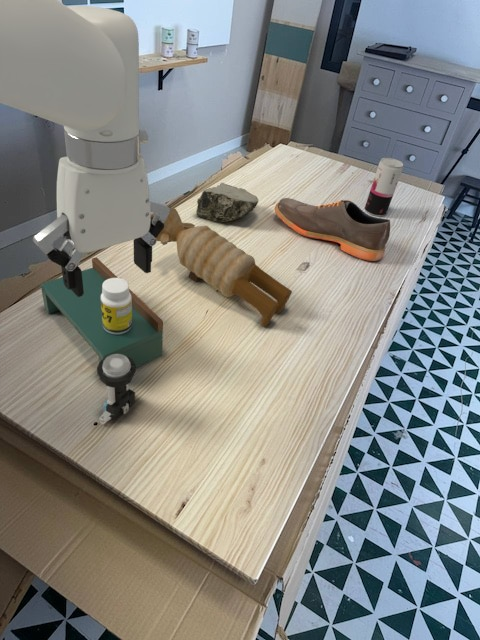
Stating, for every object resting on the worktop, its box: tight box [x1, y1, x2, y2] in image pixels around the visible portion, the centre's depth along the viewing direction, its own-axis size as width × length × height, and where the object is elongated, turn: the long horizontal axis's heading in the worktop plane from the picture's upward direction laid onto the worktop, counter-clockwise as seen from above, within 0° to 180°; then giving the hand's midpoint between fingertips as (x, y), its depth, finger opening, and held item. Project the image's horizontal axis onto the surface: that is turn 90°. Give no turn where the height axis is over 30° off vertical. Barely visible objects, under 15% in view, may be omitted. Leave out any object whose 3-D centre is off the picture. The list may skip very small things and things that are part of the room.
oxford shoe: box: [274, 197, 391, 262], centre depth 119 cm, size 11×31×11 cm, turn 59°
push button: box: [96, 354, 137, 426], centre depth 68 cm, size 7×5×10 cm
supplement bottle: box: [101, 277, 132, 334], centre depth 74 cm, size 5×5×8 cm
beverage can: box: [364, 157, 404, 217], centre depth 133 cm, size 6×7×15 cm
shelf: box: [40, 257, 164, 374], centre depth 81 cm, size 11×22×8 cm, turn 42°
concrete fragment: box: [195, 182, 259, 223], centre depth 121 cm, size 15×10×15 cm
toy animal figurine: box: [156, 207, 293, 328], centre depth 95 cm, size 10×12×30 cm
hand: (110, 278), depth 60 cm, fingers open, 9 cm apart
